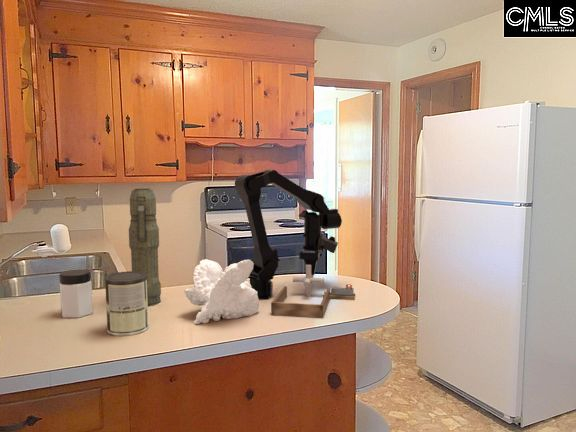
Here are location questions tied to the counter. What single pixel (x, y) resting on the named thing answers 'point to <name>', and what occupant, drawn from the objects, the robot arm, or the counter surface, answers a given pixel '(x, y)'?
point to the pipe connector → (308, 280)
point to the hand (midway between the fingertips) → (312, 275)
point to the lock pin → (343, 291)
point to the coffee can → (126, 303)
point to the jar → (76, 293)
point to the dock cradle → (303, 305)
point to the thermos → (145, 240)
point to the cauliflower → (222, 291)
